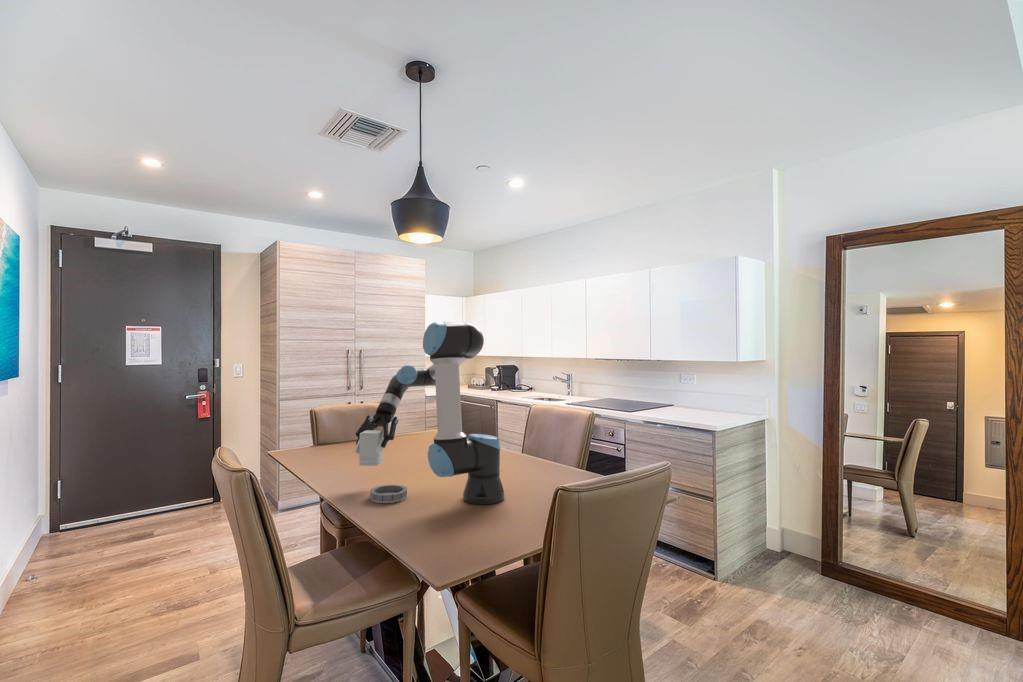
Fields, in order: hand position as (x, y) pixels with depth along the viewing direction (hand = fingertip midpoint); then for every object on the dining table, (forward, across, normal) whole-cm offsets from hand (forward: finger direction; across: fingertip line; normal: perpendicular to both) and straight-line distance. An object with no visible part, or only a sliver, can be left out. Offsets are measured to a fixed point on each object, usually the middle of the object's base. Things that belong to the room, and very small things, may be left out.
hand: (366, 453), depth 185 cm
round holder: (+14, -13, -6) cm, 20 cm away
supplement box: (+1, 0, -6) cm, 6 cm away
